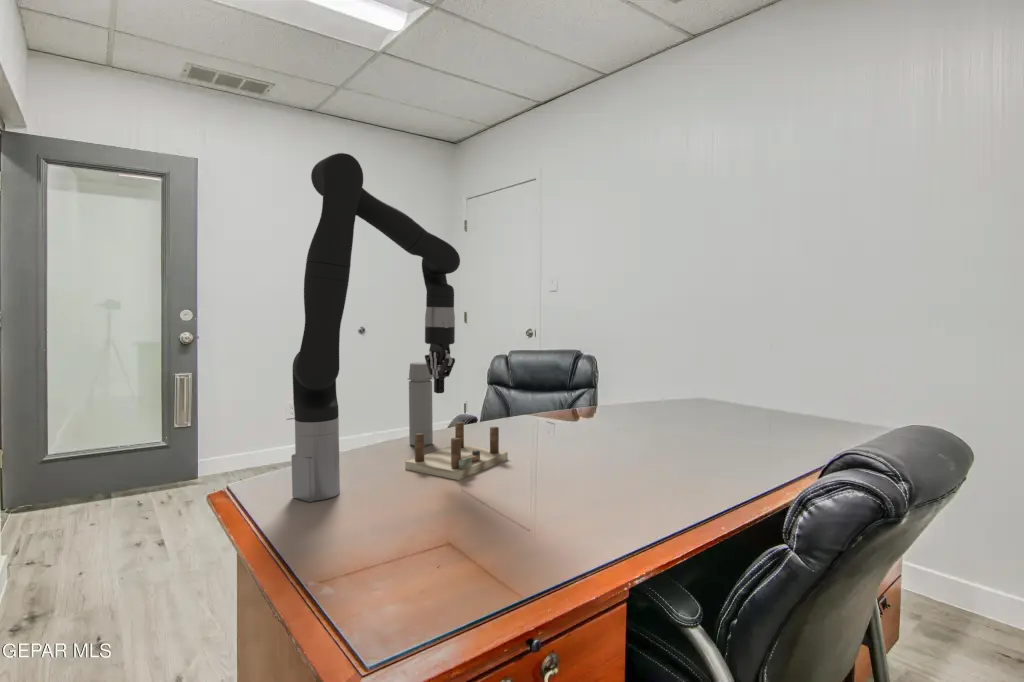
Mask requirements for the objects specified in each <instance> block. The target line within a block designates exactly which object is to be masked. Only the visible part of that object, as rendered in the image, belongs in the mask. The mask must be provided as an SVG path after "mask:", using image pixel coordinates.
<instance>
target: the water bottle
mask: <svg viewBox="0 0 1024 682" xmlns="http://www.w3.org/2000/svg"><path fill="white" fill-rule="evenodd" d="M407 380H408V410H409V411H408V413H409V415H408V418H409V419H408V422H409V423H408V425H409V430H408V431H409V445H411V446H414V447H415V434H417V433H423V434H424V447H427V445H428V446H430V445H431V444H432V443H433V440H434V439H433V380H434V378H433V375H430V373H429V370H428V366H427V363H426V361H421V362H420V361H419V362H410V363H409V371H408V378H407Z"/></svg>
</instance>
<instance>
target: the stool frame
mask: <svg viewBox="0 0 1024 682" xmlns="http://www.w3.org/2000/svg"><path fill="white" fill-rule="evenodd" d="M454 423H455V431H454V435H455V437H454V438H461V458H463V457H465V456H468V455H471V454H472V451H474V450H478V451H480V459H479V460H477V461H474V462H472V457H466V458H463V459H461V460H459V468H452V467H451V445H450V446H448V447H444V448H442V449H441V448H440V449H439V450H436V451H432V452H429V453H427V454H425V446H424V434H423V433H417V434H415V446H414V458H412V459H409V460H406V461H404V462H405V467H404V469H405V470H408V471H413V472H418V473H422V474H428V475H431V476H437V477H442V478H446V479H451V480H457V481H460V480H463V479H465V478H467V477H470V476H472V475H474V474H476V473H479V472H481V471H483V470H486V469H488V468H490V467H493V466H495V465H498V464H500V463H503V462H505V461H507V460H508V458H509V457H508V454H509V453H508V451H502V450H500V449H499V447H500V446H499V445H500V444H499V443H500V441H499V437H500V436H499V433H500V431H499V428H500V427H499V426H491V427H489V448H484V447H478V446H471V445H467V444H465V440H464V439H465V427H464V425H465V422H464V421H457V422H454Z"/></svg>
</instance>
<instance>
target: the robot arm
mask: <svg viewBox="0 0 1024 682" xmlns="http://www.w3.org/2000/svg"><path fill="white" fill-rule="evenodd" d="M310 175H311V176H310V179H311V184H312V186H313V188H314V190H315V191H316V192H317V193H318V194H319V195H320V196H322V204H321V206H322V208H321V213H320V217H319V222H318V224H317V227H316V228H315V232H314V235H313V237H312V238H311V242H310V244H309V247H308V252H307V256H306V261H305V270H304V279H303V303H304V305H303V306H304V329H303V334H302V339H301V343H300V349H299V351H298V353H296V355H295V357H294V359H293V362H292V390H293V391H292V395H293V397H292V398H293V409H294V410H293V411H294V439H295V440H294V444H295V446H294V447H295V449H294V451H295V452H294V454H291V490H292V492H291V493H292V498H294V499H297V500H301V501H305V502H308V503H312V502H314V501H322V500H328V499H331V498H334V497H336V496H338V495H340V492H341V480H340V478H341V477H340V475H341V474H340V472H341V471H340V427H339V425H340V423H339V421H340V420H339V403H338V402H339V401H338V397H337V378H338V376H339V374H340V373H339V372H340V342H341V340H340V335H341V326H342V319H343V315H344V309H345V305H346V300H347V293H348V289H349V281H350V273H351V262H352V252H353V241H354V234H355V232H354V230H355V222H356V216H357V217H358V218H360V219H361V220H363V221H365V222H366V223H368V224H369V225H371V226H372V227H374V228H375V229H376V230H377V231H379V232H380V233H382V234H383V235H385V237H387V238H389V239H390V240H391V241H392V242H393V243H395V244H396V245H397V246H398V247H400V248H401V249H403V250H404V251H406V252H407V254H410V255H413V256H418V257H420V258H422V260H421V273H422V276H423V281H424V286H425V290H426V303H425V306H426V308H425V316H424V343H425V344H427V345H429V348H428V352H429V354H425V355H424V360H425V362H426V363H427V366H428V370H429V373H430V375H433V377H432V378H433V392H434V393H435V394H444V393H445V379H446V378H447V377H448V378H449V377H450V374H451V372H452V370H453V368H454V365H455V363H456V358H455V357H451V348H450V346H451V345H453V344H455V342H456V341H455V337H456V336H455V333H456V332H455V330H456V327H455V326H456V322H455V320H456V315H455V289H454V286H452V285H451V284H449V283H448V280H447V275H449V274H452V273H454V272H456V271H457V270H458V269H459V267H460V264H461V257H460V254H459V252H458V250H457V249H456V248H455V247H454V246H453V245H452V244H451V243H448V242H447V241H445V240H443V239H441V238H440V237H438V236H436V235H434V234H432V233H431V232H429V231H427V230H426V229H425V227H422V226H421V225H420V224H419V223H417V222H416V221H415V220H414V219H413V218H412V217H410V216H409V215H408V214H406V213H404V212H403V211H401V210H399V209H398V208H396V207H393V206H392V205H390V204H387V203H386V202H384V201H382V200H380V199H378V198H377V197H376V196H374V195H372V194H371V193H370V192H368V191H367V190H366V189H365V188H363V186H364V172H363V168H362V166H361V164H360V162H359V161H358V159H356V158H355V156H353V155H351V154H350V153H347V152H337V153H333V154H331V155H329V156H327V157H325V158H323V159H322V160H319V161H318V162H317V163H316V164H315V165H314V166H313V167H312V169H311V174H310Z"/></svg>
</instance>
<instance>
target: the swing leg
mask: <svg viewBox="0 0 1024 682" xmlns="http://www.w3.org/2000/svg"><path fill="white" fill-rule="evenodd" d="M450 446H451V467H452V468H459V460H461V459H463V458H466V457H472V462H474V461H477V460H479V459H480V451H478V450H474V451H472V454H471V455H468V456H465V457H463V458H461V438H455V437H452V438H450Z"/></svg>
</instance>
